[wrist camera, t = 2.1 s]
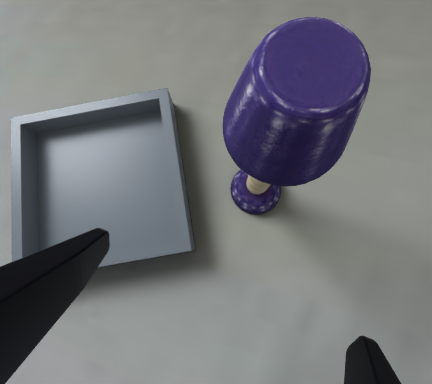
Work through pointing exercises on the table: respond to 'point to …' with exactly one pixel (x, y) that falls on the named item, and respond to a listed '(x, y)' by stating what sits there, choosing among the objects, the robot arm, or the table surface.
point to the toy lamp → (294, 108)
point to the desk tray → (101, 178)
